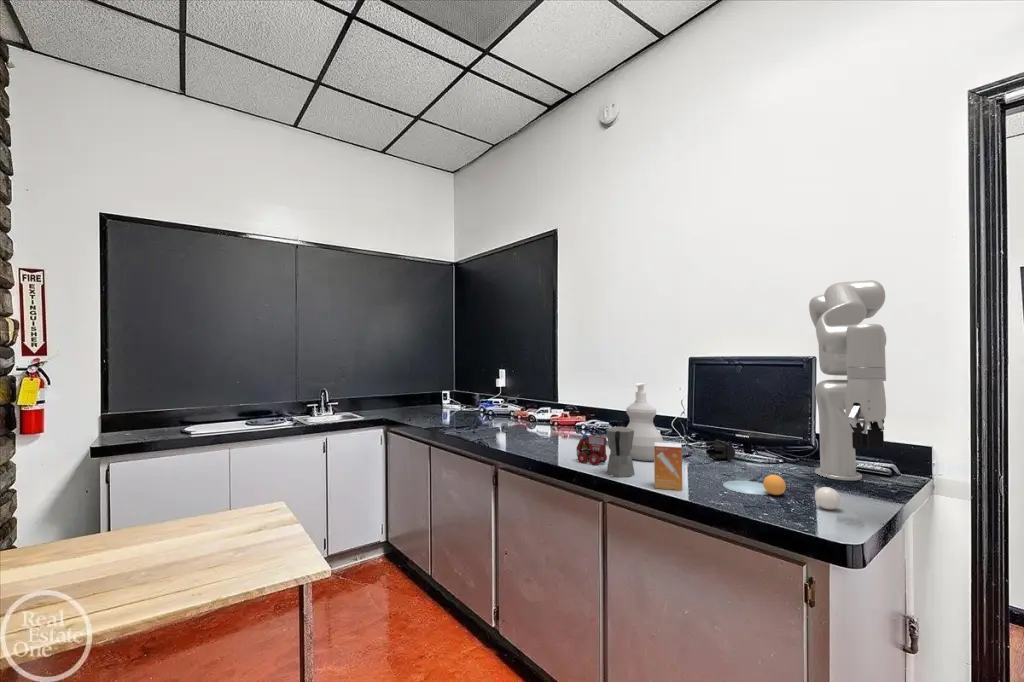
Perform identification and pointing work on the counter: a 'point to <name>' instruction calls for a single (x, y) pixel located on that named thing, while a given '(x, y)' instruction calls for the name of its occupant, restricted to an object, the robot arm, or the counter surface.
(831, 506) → the white egg
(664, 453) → the small box
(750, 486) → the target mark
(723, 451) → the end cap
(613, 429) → the coffeepot
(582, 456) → the toy fire truck
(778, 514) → the counter surface
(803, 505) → the counter surface
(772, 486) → the object ball
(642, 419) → the soap bottle
